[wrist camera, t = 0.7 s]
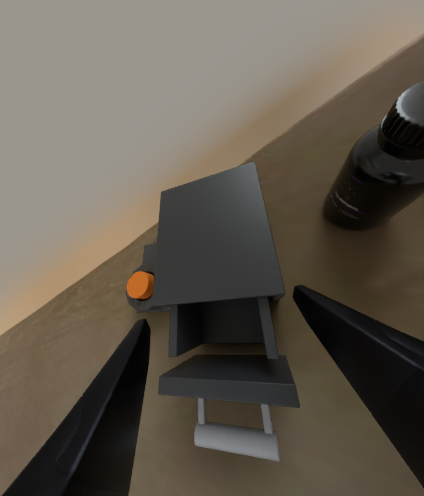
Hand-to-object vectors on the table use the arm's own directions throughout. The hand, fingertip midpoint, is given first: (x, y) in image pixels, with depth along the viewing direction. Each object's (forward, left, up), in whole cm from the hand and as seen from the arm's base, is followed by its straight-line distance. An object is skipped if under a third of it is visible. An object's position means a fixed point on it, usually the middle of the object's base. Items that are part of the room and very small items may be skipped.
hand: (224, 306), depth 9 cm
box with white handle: (-2, +2, -11) cm, 12 cm away
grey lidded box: (+7, +2, -12) cm, 15 cm away
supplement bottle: (+11, -15, -13) cm, 22 cm away
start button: (+4, +14, -9) cm, 17 cm away
